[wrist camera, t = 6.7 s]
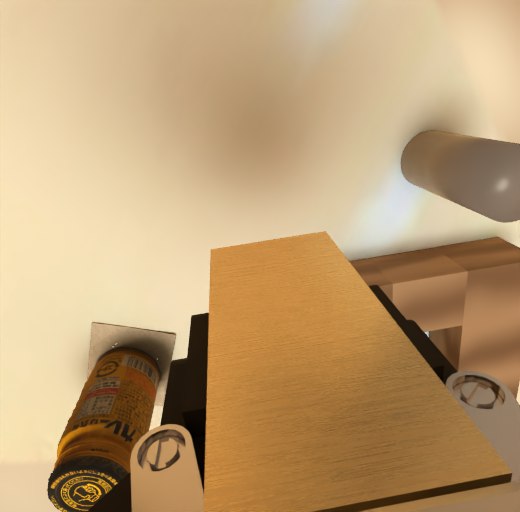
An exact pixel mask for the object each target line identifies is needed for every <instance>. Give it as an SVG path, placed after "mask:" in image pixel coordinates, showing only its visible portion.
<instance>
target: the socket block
mask: <svg viewBox="0 0 520 512" xmlns="http://www.w3.org/2000/svg"><path fill="white" fill-rule="evenodd" d="M350 264H351V265H352V266H353V267H354V269H355V270H356V271H357V273H358V274H359V275H360V276H361V278H362V279H363V280H364V282H365V283H366V284H367V286H371V285H378V286H379V287H380V288H381V289H382V291H383V292H384V293H385V294H386V295H387V297H388V298H389V299H390V300H391V301H392V303H393V304H394V305H395V306H396V308H397V309H398V310H399V311H400V312H401V314H402V315H403V316H404V317H405V318H406V320H410V319H411V320H413V321H415V322H416V323H417V325H418V326H419V327H420V328H421V329H422V330H423V332H427V331H429V339H430V340H431V341H432V342H433V343H434V344H435V346H436V347H437V348H438V349H439V350H440V351H441V353H442V354H443V355H444V356H445V357H446V358H447V360H448V361H449V362H450V363H451V364H452V365H453V367H454V368H455V369H456V370H457V371H458V372H459V371H478V372H481V373H485V374H488V375H490V376H492V377H495V378H497V379H498V380H500V381H501V382H502V383H504V384H505V385H506V386H507V387H508V389H509V390H510V391H511V393H512V394H513V396H514V397H515V399H516V397H517V392H518V386H519V381H520V248H519V247H517V246H515V245H513V244H511V243H509V242H507V241H505V240H503V239H501V238H499V237H496V238H490V239H484V240H478V241H472V242H466V243H460V244H454V245H448V246H441V247H435V248H429V249H423V250H417V251H411V252H405V253H399V254H393V255H387V256H381V257H375V258H369V259H363V260H357V261H350Z"/></svg>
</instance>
